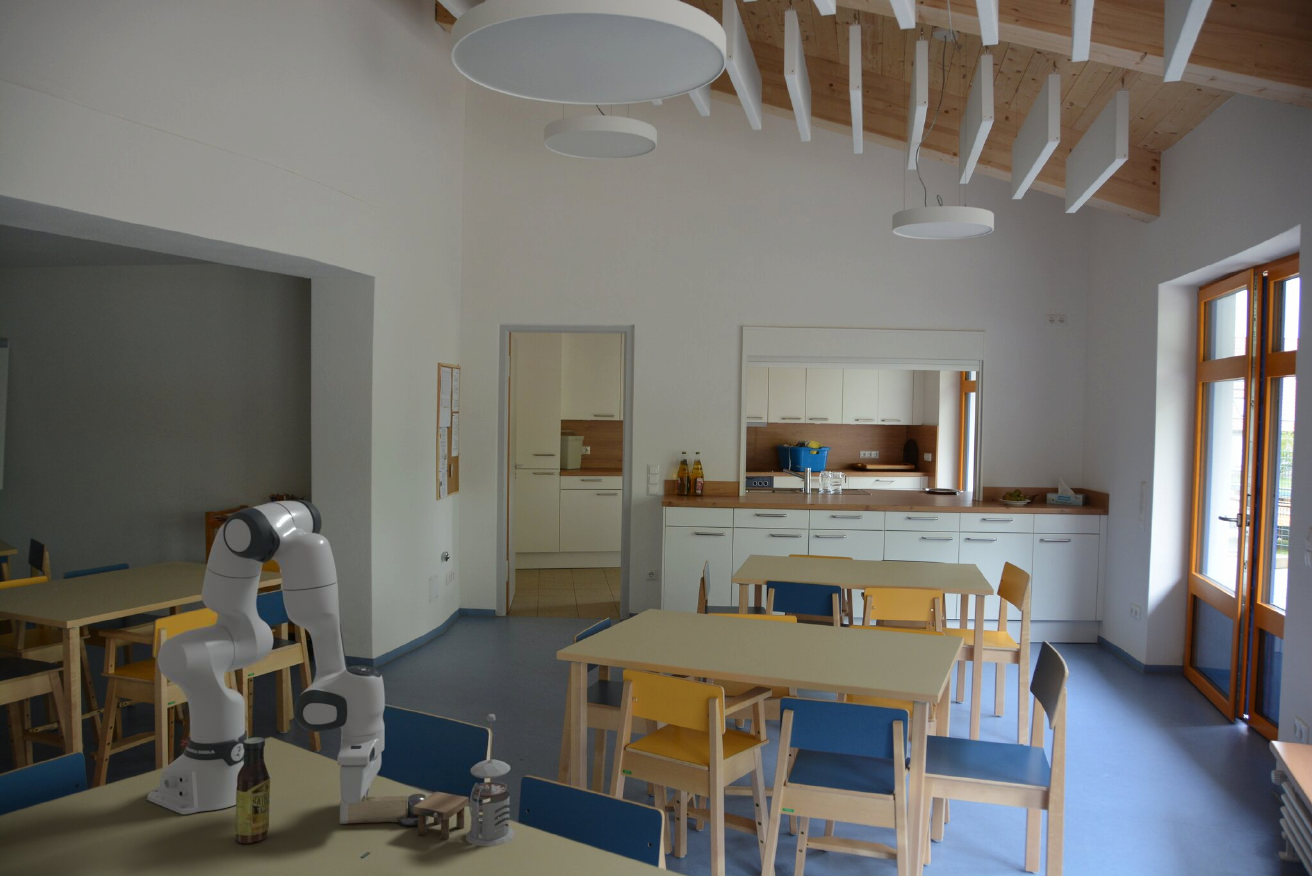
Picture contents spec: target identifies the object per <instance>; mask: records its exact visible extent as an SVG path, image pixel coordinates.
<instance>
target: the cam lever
mask: <svg viewBox="0 0 1312 876" xmlns="http://www.w3.org/2000/svg"><path fill="white" fill-rule="evenodd" d="M426 798H427V797H426V795H425V794H423V793H413V794H411V795H409V796H408V795H394V796H393V795H392V796H368V797H363V798H362V800H361V802H360V803H354V804H345V803H343V801H342V798H341V799H340V802H339V824H341V825H342V824H344V825H345V824H347V825H348V824H359V823H360V824H363V823H364V824H365V823H368V824H369V823H389V822H390V823H391V822H392V823H393V822H394V823H395V822H397V823H398V824H399V825H401V826H403V827H404V826H405V827H413V826H414V827H415V826H418V814H414V806H415V805H416V804H418V803H419V802H421V801H423V800H424V799H426ZM428 820H429V816H426V822H427V821H428Z"/></svg>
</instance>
